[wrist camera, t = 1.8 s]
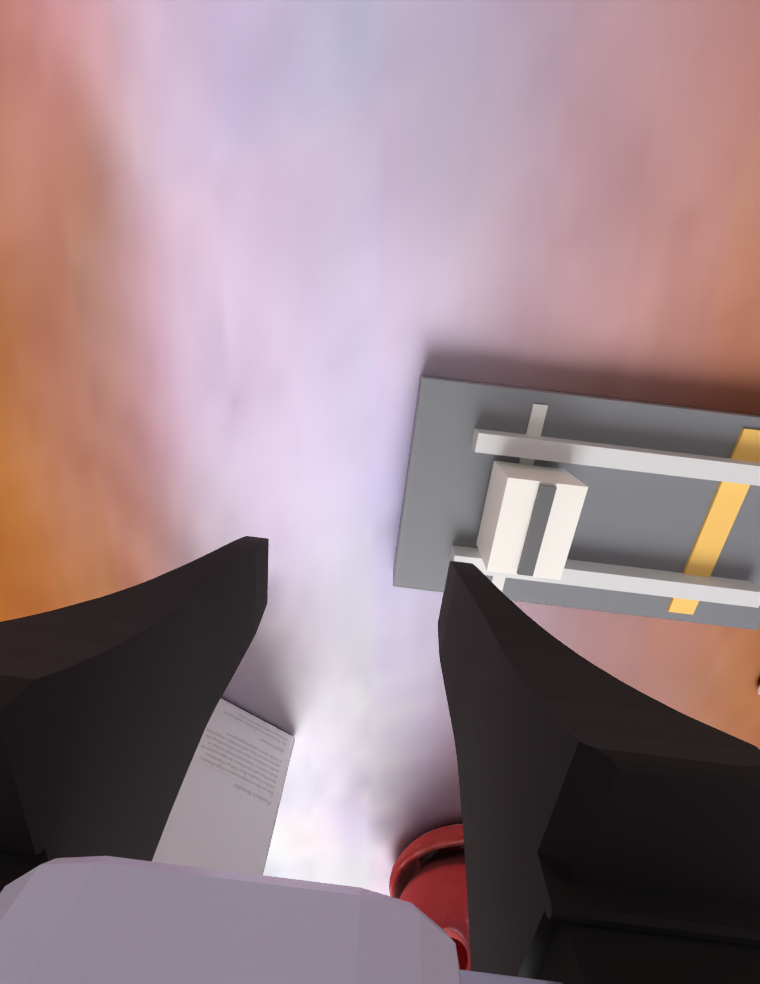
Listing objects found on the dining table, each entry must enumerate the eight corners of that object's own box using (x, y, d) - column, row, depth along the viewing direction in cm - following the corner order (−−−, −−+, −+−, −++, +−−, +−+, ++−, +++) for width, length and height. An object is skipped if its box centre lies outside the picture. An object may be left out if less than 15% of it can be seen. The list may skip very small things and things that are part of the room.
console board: (823, 423, 18) (886, 434, 16) (733, 611, 22) (774, 643, 19) (420, 375, 18) (423, 379, 16) (393, 570, 22) (392, 597, 19)
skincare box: (185, 731, 26) (22, 1024, 15) (217, 687, 25) (64, 974, 14) (268, 773, 27) (173, 1080, 16) (303, 733, 26) (227, 1038, 15)
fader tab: (564, 469, 17) (590, 488, 15) (541, 551, 19) (561, 582, 16) (494, 460, 17) (509, 478, 15) (476, 544, 19) (487, 573, 16)
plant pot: (567, 799, 27) (688, 1127, 16) (550, 918, 31) (636, 1243, 20) (369, 797, 28) (347, 1108, 16) (380, 913, 32) (368, 1222, 21)
